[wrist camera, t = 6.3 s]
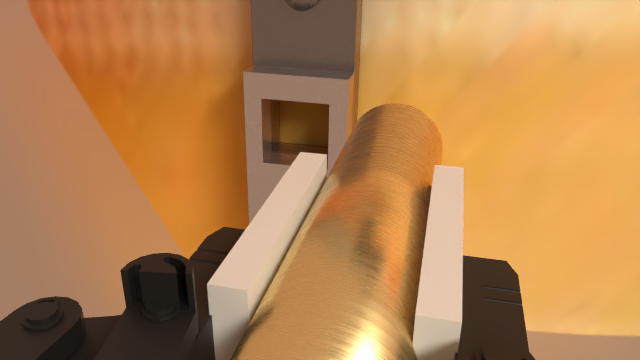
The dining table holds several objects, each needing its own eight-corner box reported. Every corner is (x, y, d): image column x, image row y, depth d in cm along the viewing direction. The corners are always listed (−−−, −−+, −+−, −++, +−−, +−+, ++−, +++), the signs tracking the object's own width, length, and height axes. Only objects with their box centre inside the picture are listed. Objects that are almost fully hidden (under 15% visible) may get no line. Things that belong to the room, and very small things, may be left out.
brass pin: (350, 100, 20) (152, 414, 7) (446, 106, 19) (408, 463, 7) (348, 186, 21) (178, 575, 9) (438, 194, 20) (395, 629, 8)
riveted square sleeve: (259, -64, 38) (233, -61, 34) (365, -61, 36) (351, -58, 32) (267, 250, 48) (248, 281, 44) (350, 262, 47) (339, 295, 42)
